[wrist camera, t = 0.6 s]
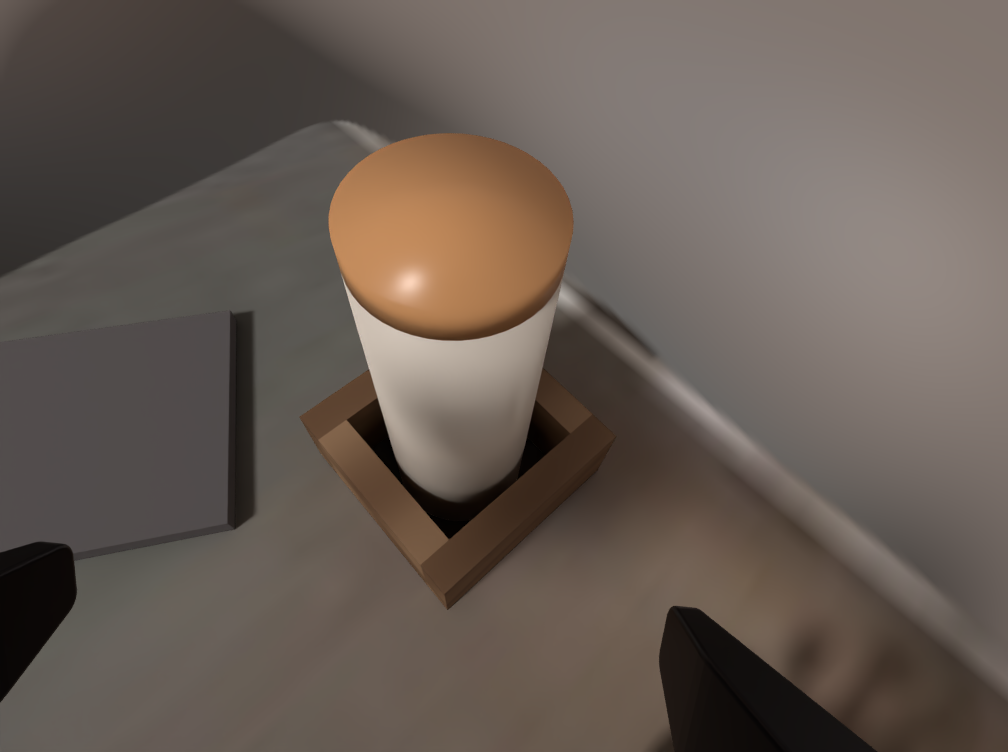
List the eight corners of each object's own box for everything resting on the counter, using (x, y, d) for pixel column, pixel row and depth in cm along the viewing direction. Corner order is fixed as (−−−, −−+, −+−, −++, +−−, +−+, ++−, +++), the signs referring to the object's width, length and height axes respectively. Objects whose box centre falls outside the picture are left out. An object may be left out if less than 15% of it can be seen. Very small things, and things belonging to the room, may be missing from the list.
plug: (532, 507, 23) (604, 290, 11) (408, 532, 22) (339, 329, 10) (505, 399, 25) (539, 124, 13) (392, 419, 25) (320, 144, 12)
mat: (234, 529, 22) (227, 523, 21) (-58, 586, 20) (-77, 582, 20) (236, 320, 27) (230, 310, 26) (-1, 353, 25) (-14, 343, 24)
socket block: (597, 470, 24) (616, 436, 21) (447, 609, 21) (444, 594, 18) (469, 345, 27) (470, 300, 24) (320, 453, 24) (299, 417, 21)
